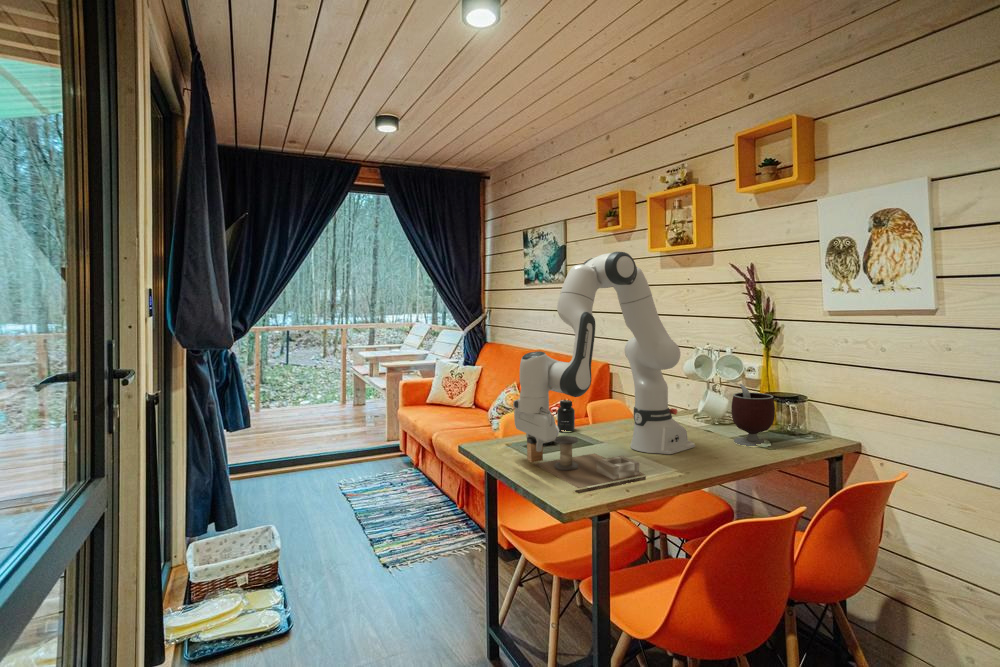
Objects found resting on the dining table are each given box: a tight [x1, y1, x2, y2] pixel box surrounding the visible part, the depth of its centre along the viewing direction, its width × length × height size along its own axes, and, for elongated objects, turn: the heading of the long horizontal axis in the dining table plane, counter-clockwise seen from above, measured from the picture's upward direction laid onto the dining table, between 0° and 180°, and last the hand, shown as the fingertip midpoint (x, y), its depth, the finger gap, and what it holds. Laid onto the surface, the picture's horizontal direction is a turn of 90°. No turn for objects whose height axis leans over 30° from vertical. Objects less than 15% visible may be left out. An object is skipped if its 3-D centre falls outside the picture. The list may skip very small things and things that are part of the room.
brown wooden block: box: [526, 437, 544, 463], centre depth 166 cm, size 4×3×7 cm, turn 115°
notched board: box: [533, 453, 647, 494], centre depth 162 cm, size 23×25×5 cm
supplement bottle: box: [556, 399, 576, 432], centre depth 215 cm, size 7×7×12 cm
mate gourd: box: [731, 383, 776, 446], centre depth 192 cm, size 16×14×20 cm
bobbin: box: [553, 435, 579, 471], centre depth 164 cm, size 7×7×9 cm
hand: (535, 449), depth 167 cm, fingers closed on brown wooden block, 3 cm apart
